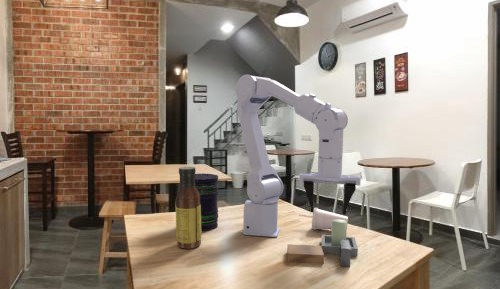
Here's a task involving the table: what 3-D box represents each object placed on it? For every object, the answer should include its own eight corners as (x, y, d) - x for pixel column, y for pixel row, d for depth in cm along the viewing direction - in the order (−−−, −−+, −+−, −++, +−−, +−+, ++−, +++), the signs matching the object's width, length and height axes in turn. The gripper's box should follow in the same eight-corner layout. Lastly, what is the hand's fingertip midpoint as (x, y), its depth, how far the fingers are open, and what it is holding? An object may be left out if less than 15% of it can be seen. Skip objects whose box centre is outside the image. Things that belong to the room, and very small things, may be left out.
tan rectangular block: (287, 263, 82) (288, 253, 82) (287, 253, 88) (287, 244, 88) (323, 265, 82) (324, 255, 81) (320, 255, 88) (321, 245, 87)
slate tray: (321, 253, 88) (321, 245, 88) (321, 241, 96) (321, 234, 96) (357, 256, 86) (357, 248, 86) (354, 244, 95) (354, 237, 94)
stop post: (340, 266, 80) (341, 248, 80) (339, 255, 86) (340, 239, 86) (350, 266, 80) (350, 249, 80) (348, 256, 86) (348, 240, 86)
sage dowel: (330, 243, 93) (331, 218, 93) (344, 244, 93) (345, 219, 92) (331, 248, 90) (332, 223, 89) (346, 249, 89) (347, 223, 89)
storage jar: (204, 233, 101) (205, 180, 100) (177, 227, 106) (177, 176, 104) (224, 224, 109) (225, 175, 108) (198, 219, 114) (198, 172, 113)
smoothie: (349, 207, 104) (300, 200, 108) (347, 223, 99) (296, 215, 103) (347, 223, 108) (300, 216, 112) (345, 239, 103) (296, 231, 107)
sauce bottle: (191, 239, 96) (192, 164, 94) (206, 245, 91) (207, 167, 90) (170, 245, 91) (170, 166, 90) (184, 252, 87) (184, 170, 85)
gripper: (299, 158, 86) (297, 214, 87) (363, 161, 83) (360, 219, 85) (300, 155, 93) (299, 207, 94) (359, 157, 90) (357, 211, 91)
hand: (328, 212), depth 90 cm, fingers open, 7 cm apart
